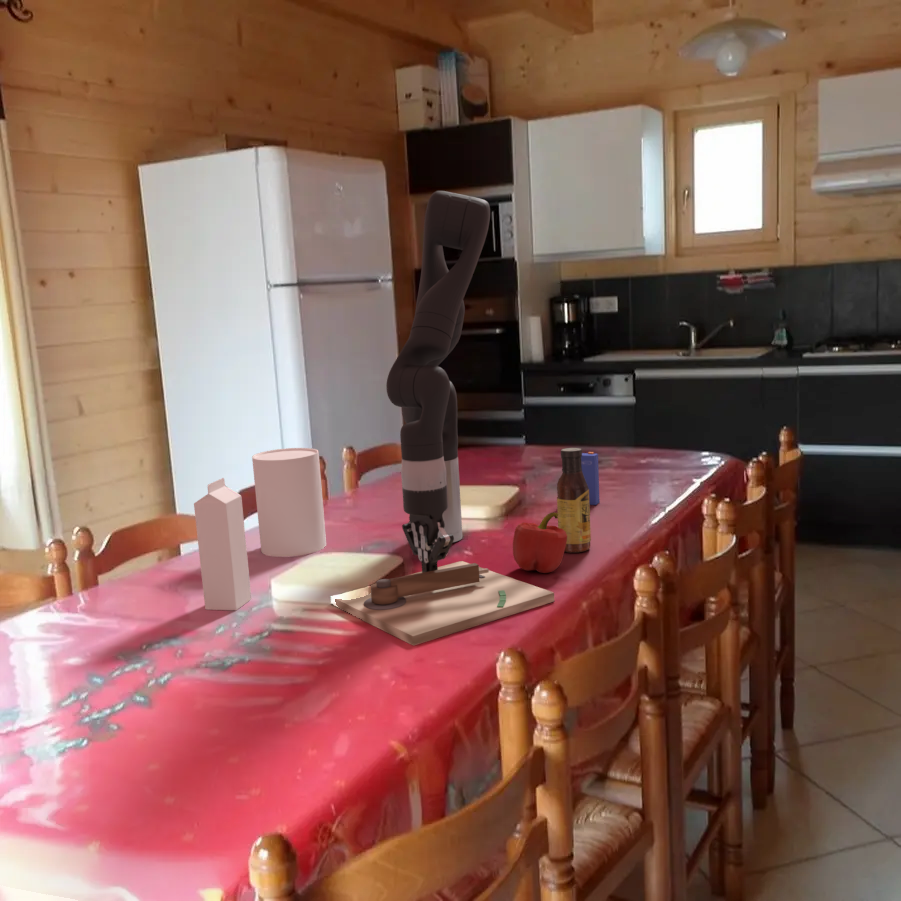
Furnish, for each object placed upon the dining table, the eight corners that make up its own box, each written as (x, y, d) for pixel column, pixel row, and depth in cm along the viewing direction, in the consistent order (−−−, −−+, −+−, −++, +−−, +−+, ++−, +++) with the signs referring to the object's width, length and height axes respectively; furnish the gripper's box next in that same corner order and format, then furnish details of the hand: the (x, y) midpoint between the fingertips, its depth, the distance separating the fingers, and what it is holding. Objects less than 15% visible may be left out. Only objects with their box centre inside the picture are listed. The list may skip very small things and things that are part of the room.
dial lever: (367, 598, 162) (366, 580, 162) (482, 576, 170) (481, 558, 170) (376, 606, 158) (375, 587, 158) (493, 583, 166) (492, 565, 166)
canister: (339, 544, 204) (331, 450, 201) (288, 560, 195) (279, 462, 191) (299, 535, 213) (291, 446, 210) (248, 550, 204) (238, 456, 200)
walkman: (599, 502, 227) (598, 452, 225) (595, 505, 225) (594, 454, 222) (567, 500, 231) (565, 451, 228) (563, 503, 228) (561, 453, 226)
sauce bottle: (590, 554, 187) (586, 452, 183) (557, 554, 188) (553, 453, 184) (592, 544, 193) (588, 446, 189) (560, 544, 194) (556, 446, 191)
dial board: (330, 604, 167) (329, 594, 166) (462, 568, 182) (461, 559, 182) (413, 645, 146) (412, 634, 145) (554, 601, 161) (554, 591, 161)
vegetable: (539, 557, 186) (536, 507, 185) (582, 566, 179) (580, 514, 177) (500, 572, 179) (497, 519, 177) (543, 582, 172) (541, 527, 170)
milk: (205, 610, 168) (190, 485, 164) (221, 598, 173) (207, 477, 170) (237, 610, 166) (223, 484, 162) (252, 598, 172) (239, 477, 168)
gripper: (465, 485, 161) (470, 586, 164) (421, 473, 171) (427, 568, 175) (427, 494, 156) (433, 596, 160) (384, 481, 167) (391, 577, 170)
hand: (430, 581), depth 167 cm, fingers closed
